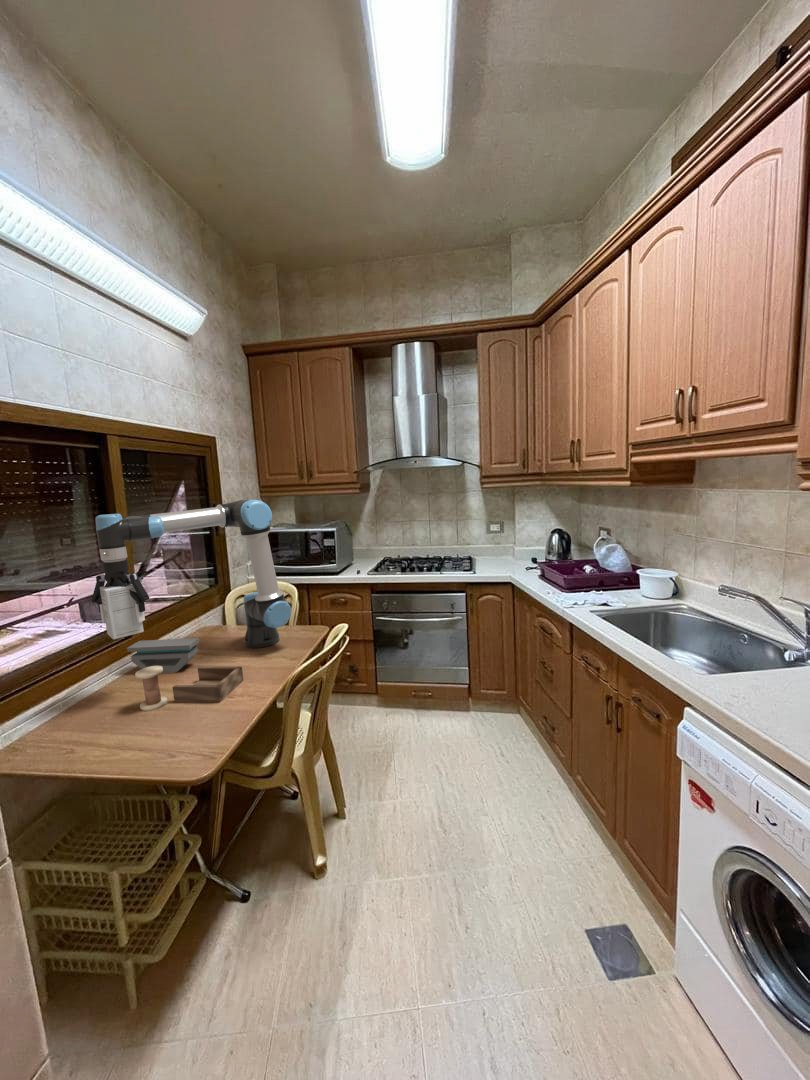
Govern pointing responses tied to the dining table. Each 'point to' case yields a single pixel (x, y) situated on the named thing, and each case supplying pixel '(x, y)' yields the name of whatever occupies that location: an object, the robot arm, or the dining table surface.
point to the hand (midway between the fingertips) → (123, 621)
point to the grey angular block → (164, 653)
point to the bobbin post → (151, 688)
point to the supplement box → (120, 611)
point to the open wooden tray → (210, 685)
